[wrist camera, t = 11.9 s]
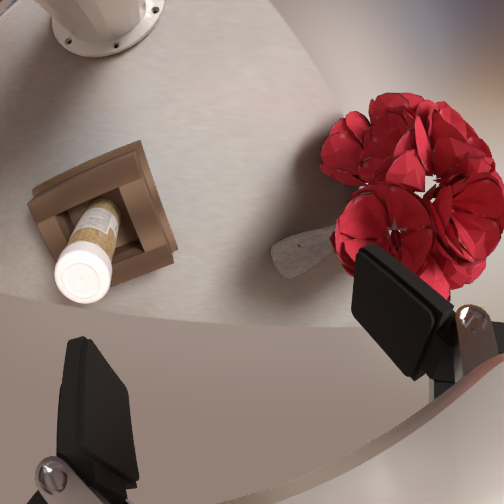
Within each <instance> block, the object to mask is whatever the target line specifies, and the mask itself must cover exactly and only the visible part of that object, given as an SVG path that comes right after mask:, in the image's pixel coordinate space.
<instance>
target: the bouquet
mask: <svg viewBox="0 0 504 504" xmlns="http://www.w3.org/2000/svg"><path fill="white" fill-rule="evenodd" d="M369 117H370V122H371V124H370V122H369V121H368V119H367V118H366V117H365V116H364V115H363V114H361V113H359V112H358V111H353V112H349V113H348V114H347V115H346V118H341V119H340V120H339V121H338V122H337V123H336V124H335V125H334V126H333V127H332V129H331V131H330V133H329V135H328V137H327V139H326V141H325V143H324V144H323V146H322V148H321V156H320V157H321V159H322V161H323V163H320V165H319V167H320V169H321V171H322V172H323V173H325V174H326V175H328V176H329V177H331V178H333V179H335V180H338V181H340V182H342V183H344V184H347V185H349V186H365V187H363V188H361V189H358V190H356V191H354V192H352V194H351V195H350V197H349V199H348V201H347V202H348V203H349V204H348V205H347V206H346V208H345V210H344V211H343V213H342V214H341V215H340V216H339V217H338V219H337V224H334V225H331V226H328V227H323V228H319V229H315V230H310V231H306V232H302V233H298V234H295V235H292V236H289V237H287V238H285V239H282V240H281V241H279V242H277V243H276V244H274V245H273V246H272V248H271V258H272V261H273V264H274V266H275V268H276V269H277V271H278V272H279V273H280V275H281V276H283V277H284V278H286V279H291V278H294V277H296V276H298V275H301V274H303V273H304V272H306V271H308V270H309V269H311V268H312V267H314V266H315V265H316V264H318V263H319V262H320V261H321V260H323V259H324V258H325V257H326V256H327V255H329V254H330V253H331V252H332V251H335V253H336V254H337V256H338V257H339V259H340V261H341V262H342V263H343V264H342V266H343V267H344V269H345V270H346V272H347V273H348V274H349V275H351V276H353V277H354V270H355V256H356V254H357V253H358V250H359V249H360V248H361V247H364V246H366V245H369V244H372V243H375V244H377V245H378V246H380V247H381V248H382V249H384V250H385V251H386V252H388V253H389V254H390V255H392V256H393V257H394V258H396V259H397V260H398V261H399V262H401V263H402V264H403V265H405V266H406V267H407V268H408V269H410V270H411V271H412V272H414V273H415V274H416V275H417V276H419V277H420V278H421V279H422V280H424V281H425V282H426V283H427V284H428V285H430V286H431V287H432V288H433V289H435V290H436V291H437V292H438V293H439V294H441V295H442V296H443V297H444V298H445V299H447V300H448V301H450V290H453V289H457V288H461V287H463V285H464V284H470V283H472V282H473V281H474V280H475V279H477V278H478V277H479V276H480V275H481V273H482V272H483V270H484V269H485V267H486V257H487V256H488V255H490V254H491V253H492V252H493V251H494V250H495V248H496V246H497V245H498V243H499V241H500V239H501V234H502V233H503V230H504V184H503V181H502V178H501V177H500V176H499V174H498V173H497V172H496V171H495V162H494V160H493V159H492V155H491V152H490V149H489V147H488V146H487V144H486V143H485V142H484V141H483V140H482V139H480V138H479V137H478V136H477V134H476V133H475V131H474V129H473V128H472V127H471V126H470V125H469V124H468V123H467V122H466V121H465V120H463V118H462V117H461V116H460V114H459V113H458V112H456V111H455V110H454V109H452V108H451V107H450V106H449V105H448V104H447V103H446V102H445V101H442V102H437V103H436V104H435V103H434V102H433V101H430V100H424V99H423V97H422V96H419V95H415V94H412V93H384V94H382V95H379V96H377V98H376V100H375V101H374V100H373V99H372V100H371V101H370V105H369ZM433 174H434V175H436V178H437V179H436V180H433V181H436V182H437V183H440V184H439V186H438V187H437V188H436V184H435V185H434V186H433V187H432V188H431V189H429V190H428V191H427V192H426V193H425V194H424V195H423V199H422V198H421V197H419V196H418V195H417V194H415V193H414V192H415V191H416V192H425V176H433ZM438 178H441V179H438ZM365 183H369V184H368V185H367V184H365ZM435 188H436V189H435ZM432 198H436V199H435V201H434V202H433V203H431V201H430V200H431V199H432ZM388 230H392V232H391V235H390V234H389V231H388ZM398 230H400V232H399V231H398Z"/></svg>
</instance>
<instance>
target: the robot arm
mask: <svg viewBox="0 0 504 504" xmlns="http://www.w3.org/2000/svg"><path fill="white" fill-rule="evenodd" d="M34 1H35V2H36V3H38V4H39V5H40V6H41V7H42V8H43V9H44V10H45V11H47V12H48V13H49V14H50V15H51V16H52V29H53V32H54V36H55V37H56V39H57V40H58V42H59V43H60V44H61V45H62V46H63V47H64V48H65V49H67V50H68V51H70V52H72V53H74V54H77V55H79V56H85V57H104V56H110V55H113V54H116V53H119V52H122V51H124V50H126V49H128V48H130V47H132V46H133V45H135V44H136V43H138V42H139V41H141V40H142V39H143V38H144V37H145V36H146V35H148V34H149V33H150V31H151V30H152V29H153V28H154V27H155V25H156V24H157V22H158V20H159V19H160V17H161V15H162V12H163V9H164V6H165V1H166V0H34ZM153 11H157V13H156V14H154V13H153ZM69 41H72V42H71V44H68V43H69ZM115 45H119V47H118V48H114V46H115ZM453 308H454V305H452V304H451V303H450V302H449V301H448V300H447V299H445V298H444V297H443V296H442V295H441V294H439V293H438V292H437V291H436V290H435V289H433V288H432V287H431V286H430V285H428V284H427V283H426V282H425V281H424V280H422V279H421V278H420V277H419V276H417V275H416V274H415V273H414V272H412V271H411V270H410V269H408V268H407V267H406V266H405V265H403V264H402V263H401V262H399V261H398V260H397V259H396V258H394V257H393V256H392V255H390V254H389V253H388V252H386V251H385V250H384V249H382V248H381V247H380V246H378V245H377V244H375V243H372V244H369V245H366V246H364V247H361V248H360V249H359V250H358V253H357V254H356V256H355V270H354V283H353V295H352V305H351V311H352V314H353V316H354V318H355V319H356V320H357V321H358V322H359V323H360V324H361V325H362V327H363V328H364V329H365V330H366V331H367V332H368V333H369V334H370V336H371V337H372V338H373V339H374V340H375V341H376V342H377V343H378V345H379V346H380V347H381V348H382V349H383V350H384V351H385V353H386V354H387V355H388V356H389V357H390V358H391V360H392V361H393V362H394V363H395V364H396V366H397V367H398V368H399V369H400V370H401V371H402V373H403V374H404V375H405V376H407V377H409V376H410V377H411V378H412V379H413V381H416V380H417V379H419V378H420V377H421V376H423V375H424V374H425V373H426V374H427V375H428V376H429V404H428V405H426V406H425V407H424V408H422V409H421V410H420V411H418V412H417V413H415V414H414V415H412V416H411V417H409V418H408V419H406V420H405V421H403V422H402V423H400V424H399V425H397V426H396V427H394V428H393V429H391V430H389V431H388V432H386V433H384V434H383V435H381V436H379V437H378V438H376V439H374V440H373V441H371V442H369V443H367V444H366V445H364V446H362V447H360V448H358V449H357V450H355V451H353V452H351V453H349V454H347V455H345V456H343V457H341V458H339V459H337V460H335V461H333V462H331V463H329V464H327V465H325V466H323V467H320V468H318V469H316V470H314V471H311V472H309V473H307V474H305V475H302V476H300V477H297V478H295V479H293V480H290V481H287V482H284V483H282V484H279V485H276V486H274V487H271V488H268V489H265V490H262V491H259V492H256V493H253V494H250V495H247V496H243V497H240V498H237V499H233V500H230V501H226V502H222V503H218V504H504V323H502V322H493V321H491V319H490V317H489V315H488V314H487V312H486V311H485V310H483V309H482V308H481V307H478V306H476V305H471V304H468V305H463V306H461V307H459V308H458V309H457V311H456V313H455V312H454V311H453ZM56 455H57V457H56V456H50V457H47V458H45V459H43V460H42V461H41V462H40V463H39V465H38V466H37V468H36V471H35V482H36V486H37V488H38V491H37V492H36V493H35V494H34V495H33V497H32V498H31V499H30V501H29V502H28V503H27V504H133V503H132V502H131V501H130V500H128V499H127V493H126V489H133V488H137V484H136V481H138V480H139V472H138V467H137V461H136V454H135V447H134V440H133V433H132V425H131V416H130V406H129V395H128V391H127V388H126V387H125V385H124V384H123V382H122V381H121V380H120V379H119V377H118V376H117V375H116V373H115V372H114V371H113V369H112V368H111V367H110V365H109V364H108V362H107V361H106V360H105V358H104V357H103V355H102V354H101V353H100V351H99V350H98V348H97V347H96V345H95V344H94V342H93V341H92V340H91V339H88V340H87V338H86V337H84V336H82V337H79V338H75V339H71V340H69V341H68V343H67V349H66V355H65V362H64V370H63V378H62V384H61V387H60V394H59V405H58V420H57V453H56Z"/></svg>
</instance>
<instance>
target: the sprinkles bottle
mask: <svg viewBox="0 0 504 504" xmlns="http://www.w3.org/2000/svg"><path fill="white" fill-rule="evenodd" d="M120 223H121V213H120V211H119V208H118V207H117V206H116V204H114V203H113V202H112V201H111V200H108V199H103V198H100V199H95V200H93V201H92V202H90V203H89V204H88V205H87V207H86V208H85V211H84V214H83V215H82V217H81V218H80V220H79V222H78V224H77V226H76V227H75V229H74V231H73V233H72V235H71V237H70V239H69V242H68V245H67V247H66V248H65V249H64V250H63V251H62V253H61V254H60V256H59V258H58V261H57V263H56V266H55V271H54V277H55V282H56V284H57V286H58V288H59V290H60V291H61V292H62V294H63V295H64V296H66V297H67V298H68V299H70V300H72V301H74V302H77V303H82V304H88V303H93V302H96V301H98V300H100V299H101V298H102V297H104V296H105V294H106V293H107V291H108V289H109V287H110V283H111V277H112V264H111V262H112V257H113V253H114V249H115V244H116V239H117V235H118V228H119V226H120Z"/></svg>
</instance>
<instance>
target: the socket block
mask: <svg viewBox="0 0 504 504" xmlns="http://www.w3.org/2000/svg"><path fill="white" fill-rule="evenodd" d="M32 190H33V193H34V195H35V197H34V198H33V199H32V200H31V201H30V202H29V203H28V204H27V205H28V207H29V209H30V212H31V214H32V216H33V218H34V220H35V223H36V225H37V227H38V229H39V231H40V233H41V235H42V237H43V239H44V241H45V243H46V245H47V247H48V249H49V251H50V253H51V254H52V256H53V258H54V260H55V262H56V263H57V261H58V258H59V256H60V254H61V253H62V251H63V250H64V249H65V248H66V247H67V245H68V242H69V239H70V237H71V235H72V233H73V231H74V229H75V227H76V226H77V224H78V222H79V220H80V218H81V217H82V215H83V214H84V211H85V208H86V207H87V205H88V204H89V203H90V202H92V201H93V200H95V199H100V198H103V199H108V200H111V201H112V202H113V203H114V204H116V206H117V207H118V208H119V211H120V213H121V223H120V226H119V228H118V235H117V239H116V244H115V249H114V253H113V257H112V262H111V264H112V277H111V283H110V287H112V286H115V285H117V284H120V283H122V282H125V281H128V280H130V279H133V278H136V277H138V276H141V275H144V274H146V273H149V272H152V271H154V270H157V269H160V268H162V267H165V266H168V265H171V264H173V263H174V261H173V256H172V252H173V251H176V250H178V247H177V244H176V241H175V239H174V236H173V233H172V231H171V228H170V225H169V223H168V220H167V217H166V214H165V212H164V209H163V206H162V203H161V200H160V197H159V195H158V192H157V189H156V186H155V183H154V180H153V177H152V174H151V171H150V168H149V165H148V162H147V159H146V156H145V153H144V150H143V147H142V143H141V140H139V141H136V142H133V143H131V144H128V145H125V146H123V147H120V148H118V149H115V150H113V151H110V152H108V153H106V154H103V155H101V156H98V157H96V158H94V159H92V160H89V161H87V162H85V163H83V164H80V165H78V166H76V167H74V168H72V169H70V170H68V171H66V172H63V173H61V174H59V175H57V176H55V177H53V178H51V179H49V180H47V181H46V182H44V183H42V184H40V185H38V186H36V187H35V188H34V189H32Z"/></svg>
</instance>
